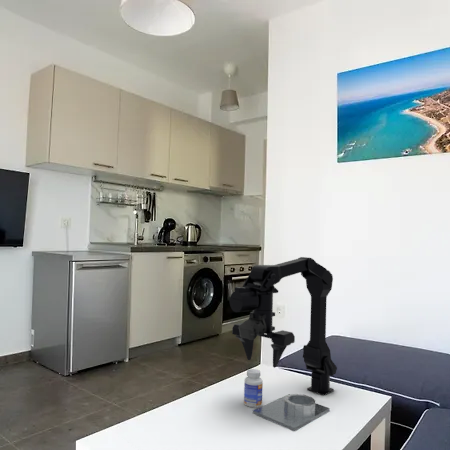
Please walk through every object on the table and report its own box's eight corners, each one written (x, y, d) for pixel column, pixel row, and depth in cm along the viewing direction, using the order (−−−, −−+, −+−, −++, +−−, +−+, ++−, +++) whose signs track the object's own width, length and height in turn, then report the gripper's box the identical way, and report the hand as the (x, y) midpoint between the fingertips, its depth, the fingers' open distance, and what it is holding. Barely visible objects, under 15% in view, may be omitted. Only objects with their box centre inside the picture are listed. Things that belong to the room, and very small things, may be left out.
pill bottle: (261, 409, 114) (261, 374, 114) (242, 406, 115) (243, 373, 115) (263, 401, 119) (263, 369, 120) (245, 399, 120) (246, 367, 121)
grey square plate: (289, 396, 124) (289, 384, 124) (329, 411, 114) (329, 397, 114) (252, 413, 111) (252, 399, 111) (294, 431, 101) (294, 416, 101)
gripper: (220, 307, 115) (219, 362, 114) (272, 317, 102) (271, 378, 102) (244, 303, 123) (243, 354, 122) (296, 312, 110) (295, 368, 110)
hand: (261, 363), depth 114 cm, fingers open, 9 cm apart
